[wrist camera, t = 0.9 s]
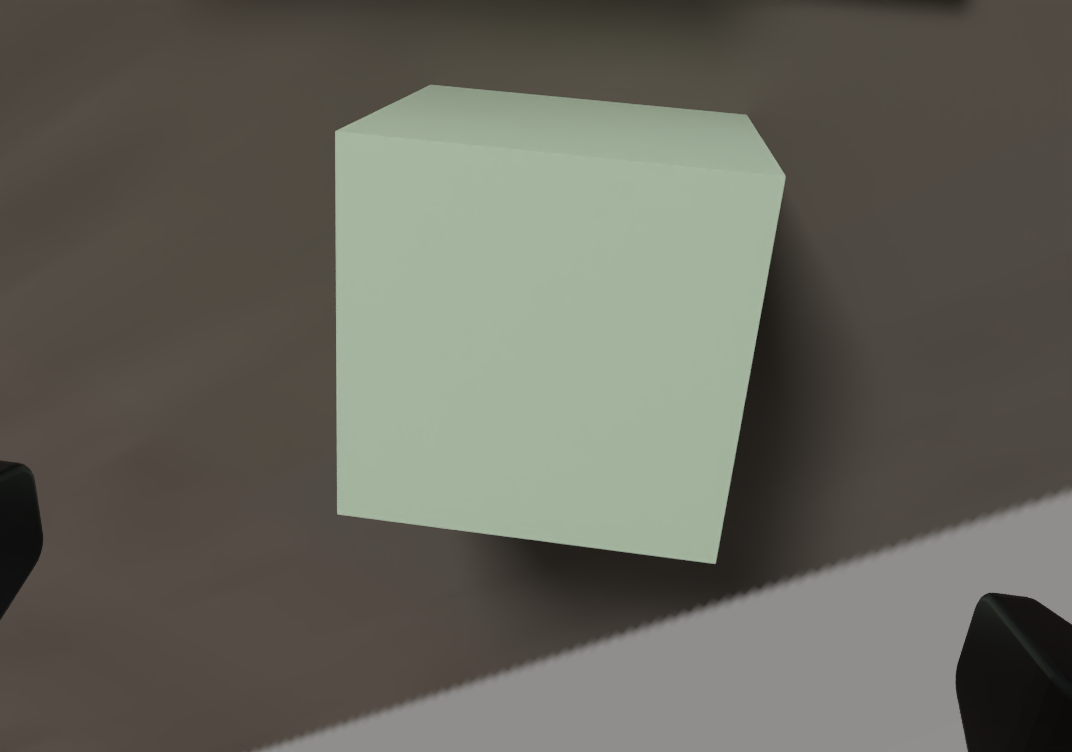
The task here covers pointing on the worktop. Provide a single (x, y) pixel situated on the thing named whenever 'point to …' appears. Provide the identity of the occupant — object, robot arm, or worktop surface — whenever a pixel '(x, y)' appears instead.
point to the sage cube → (548, 315)
